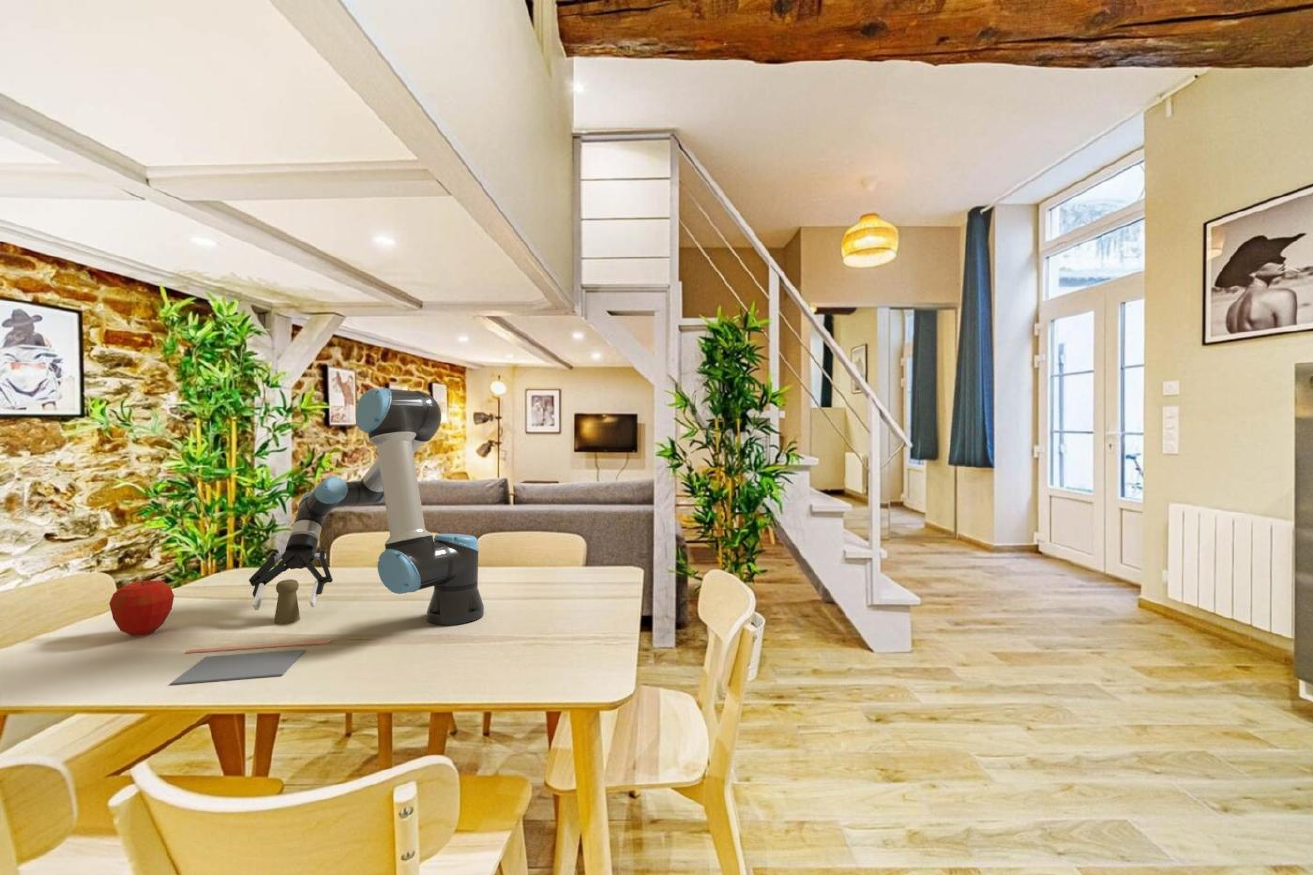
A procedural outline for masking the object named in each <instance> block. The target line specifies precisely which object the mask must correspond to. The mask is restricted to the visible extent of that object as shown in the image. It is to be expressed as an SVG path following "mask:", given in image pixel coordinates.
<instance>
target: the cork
mask: <svg viewBox="0 0 1313 875" xmlns="http://www.w3.org/2000/svg"><path fill="white" fill-rule="evenodd" d="M275 585H276V586H275V590H276V592H277V594H278V595H277V599H276V601H277V602H276V608H275V613H274V620H273V624H275V625H287V624H293V623H297V622H298V621H300V620H301V617H300V615H301V614H300V609H299V603H298V595H297V591H298V590H299V586H300V584H299V582H298V580H296V579H284V580H280V581H278V582H277V583H276V584H275Z"/></svg>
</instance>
